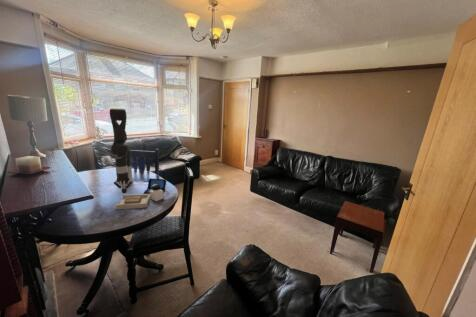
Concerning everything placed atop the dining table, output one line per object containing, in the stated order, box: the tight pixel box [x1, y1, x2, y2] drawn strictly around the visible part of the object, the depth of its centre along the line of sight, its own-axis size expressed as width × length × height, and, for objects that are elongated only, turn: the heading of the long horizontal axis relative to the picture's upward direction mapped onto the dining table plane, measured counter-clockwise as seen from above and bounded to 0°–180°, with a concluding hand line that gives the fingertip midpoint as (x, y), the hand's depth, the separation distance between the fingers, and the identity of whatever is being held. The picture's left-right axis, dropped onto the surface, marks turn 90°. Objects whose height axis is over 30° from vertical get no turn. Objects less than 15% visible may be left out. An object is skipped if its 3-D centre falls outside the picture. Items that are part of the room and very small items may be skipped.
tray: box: [114, 193, 151, 210], centre depth 155 cm, size 17×21×3 cm
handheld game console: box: [143, 178, 167, 194], centre depth 176 cm, size 16×13×9 cm
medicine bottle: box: [150, 184, 164, 202], centre depth 162 cm, size 7×7×12 cm
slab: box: [124, 196, 142, 204], centre depth 155 cm, size 8×3×10 cm
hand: (124, 192), depth 152 cm, fingers closed
